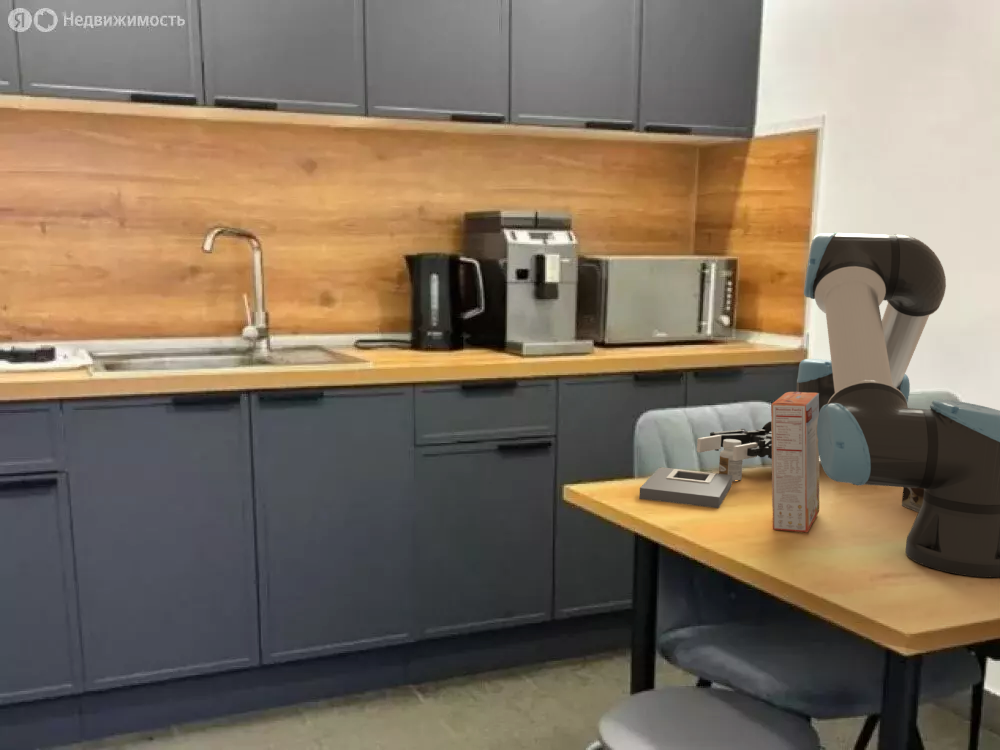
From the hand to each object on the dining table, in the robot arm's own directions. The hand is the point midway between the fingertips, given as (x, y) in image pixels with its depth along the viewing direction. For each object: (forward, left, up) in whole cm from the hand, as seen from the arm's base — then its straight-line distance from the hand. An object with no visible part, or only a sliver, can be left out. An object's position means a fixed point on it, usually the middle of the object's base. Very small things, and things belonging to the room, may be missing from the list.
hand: (716, 449), depth 182 cm
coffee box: (-4, -38, -7) cm, 39 cm away
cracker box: (-22, -16, -6) cm, 28 cm away
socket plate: (-10, +4, -6) cm, 12 cm away
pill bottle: (+4, -2, -7) cm, 8 cm away
